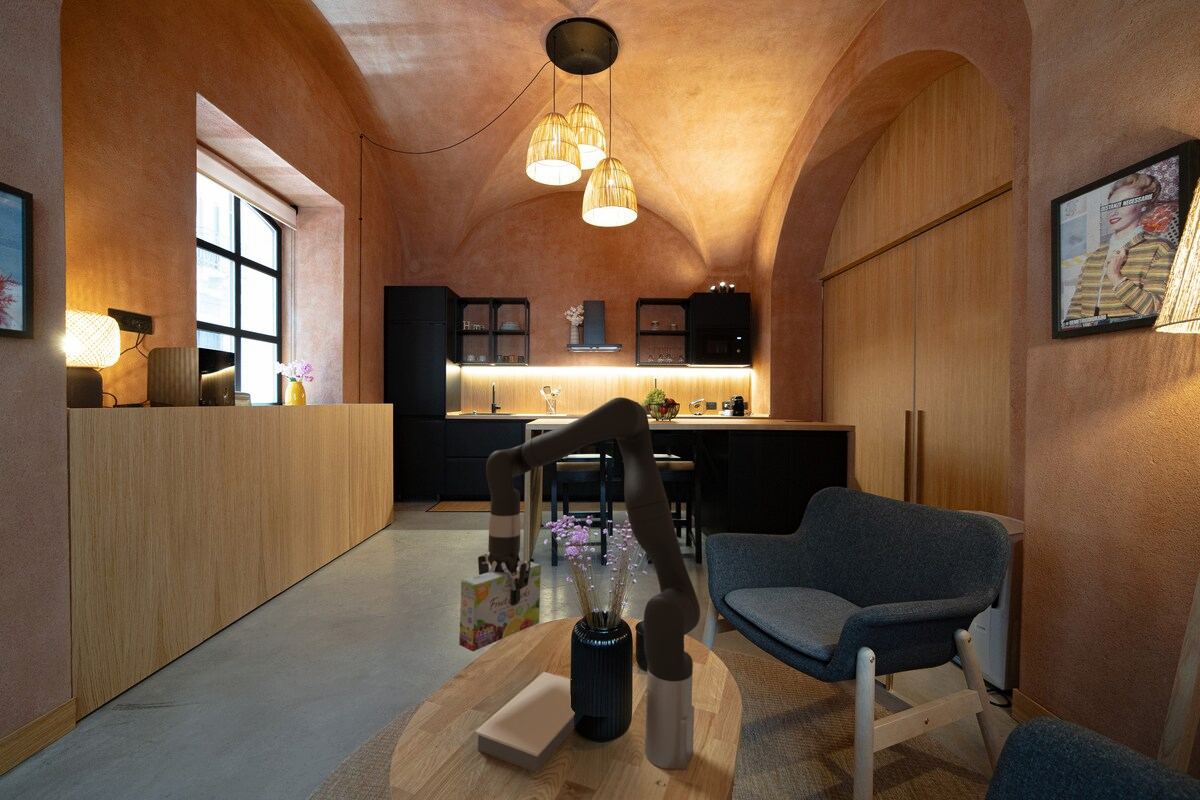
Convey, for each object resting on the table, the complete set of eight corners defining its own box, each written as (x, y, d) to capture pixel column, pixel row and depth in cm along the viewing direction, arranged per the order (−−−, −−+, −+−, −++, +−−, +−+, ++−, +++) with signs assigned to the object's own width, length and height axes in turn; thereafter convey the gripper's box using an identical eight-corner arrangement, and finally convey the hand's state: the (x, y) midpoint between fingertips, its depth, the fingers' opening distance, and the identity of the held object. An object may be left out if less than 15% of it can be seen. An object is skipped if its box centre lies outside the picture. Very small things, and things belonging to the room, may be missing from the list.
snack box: (474, 653, 114) (475, 584, 115) (458, 646, 118) (459, 579, 118) (541, 623, 131) (541, 563, 132) (525, 618, 135) (525, 559, 135)
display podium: (597, 704, 124) (597, 687, 124) (537, 775, 100) (537, 754, 100) (543, 687, 130) (543, 671, 131) (474, 750, 106) (475, 731, 106)
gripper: (538, 532, 126) (536, 602, 125) (489, 525, 132) (488, 592, 131) (521, 539, 119) (519, 613, 118) (470, 531, 125) (468, 601, 125)
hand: (502, 601), depth 125 cm, fingers closed on snack box, 6 cm apart
